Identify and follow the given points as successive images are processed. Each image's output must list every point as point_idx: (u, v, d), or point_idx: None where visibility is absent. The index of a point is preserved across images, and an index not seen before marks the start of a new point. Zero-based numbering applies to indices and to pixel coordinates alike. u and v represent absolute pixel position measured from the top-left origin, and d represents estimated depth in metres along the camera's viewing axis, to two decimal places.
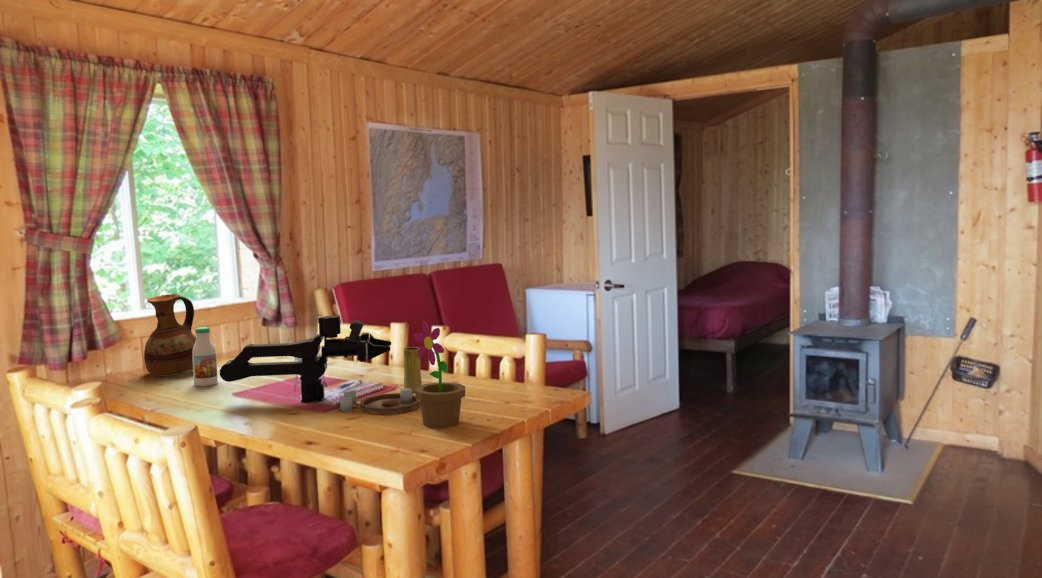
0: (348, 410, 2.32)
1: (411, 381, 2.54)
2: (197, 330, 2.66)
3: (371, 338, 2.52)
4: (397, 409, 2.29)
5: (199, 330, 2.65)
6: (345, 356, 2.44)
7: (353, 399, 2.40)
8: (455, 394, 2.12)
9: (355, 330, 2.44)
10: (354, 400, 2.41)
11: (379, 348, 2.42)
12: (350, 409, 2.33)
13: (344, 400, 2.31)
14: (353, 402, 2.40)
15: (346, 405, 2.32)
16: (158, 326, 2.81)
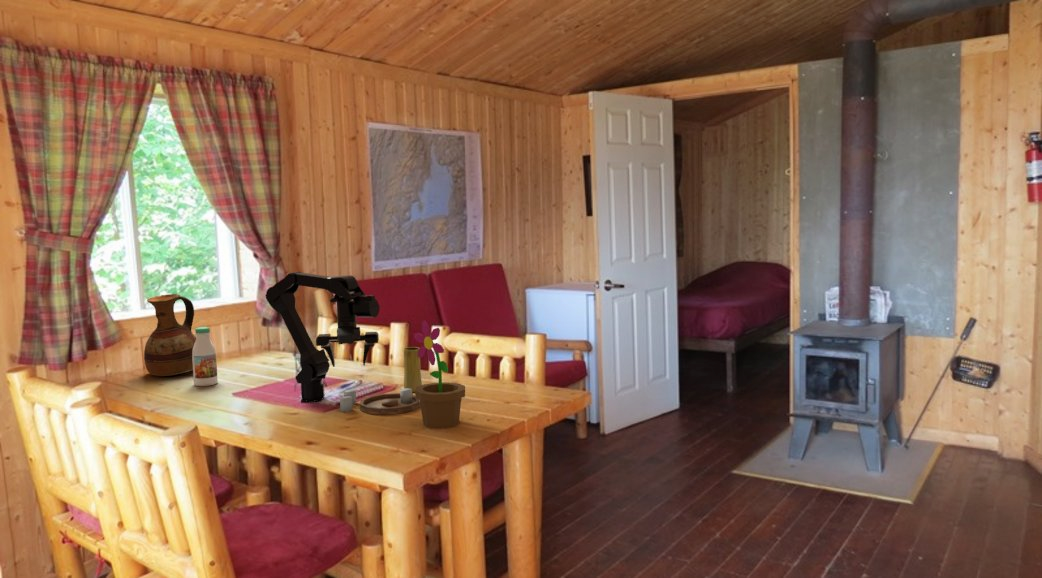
0: (348, 410, 2.32)
1: (411, 381, 2.54)
2: (197, 330, 2.66)
3: (364, 346, 2.38)
4: (397, 409, 2.29)
5: (199, 330, 2.65)
6: None
7: (353, 399, 2.40)
8: (455, 394, 2.12)
9: None
10: (354, 400, 2.41)
11: None
12: (350, 409, 2.33)
13: (344, 400, 2.31)
14: (353, 402, 2.40)
15: (346, 405, 2.32)
16: (158, 326, 2.81)
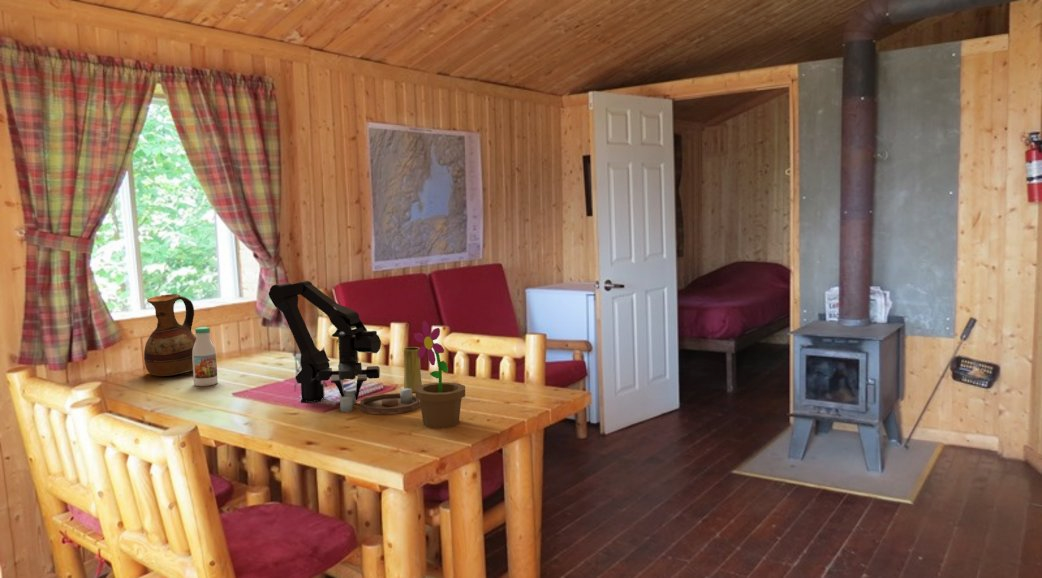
0: (348, 410, 2.32)
1: (411, 381, 2.54)
2: (197, 330, 2.66)
3: (357, 381, 2.39)
4: (397, 409, 2.29)
5: (199, 330, 2.65)
6: None
7: (353, 399, 2.40)
8: (455, 394, 2.12)
9: None
10: (354, 400, 2.41)
11: None
12: (350, 409, 2.33)
13: (344, 400, 2.31)
14: (353, 402, 2.40)
15: (346, 405, 2.32)
16: (158, 326, 2.81)
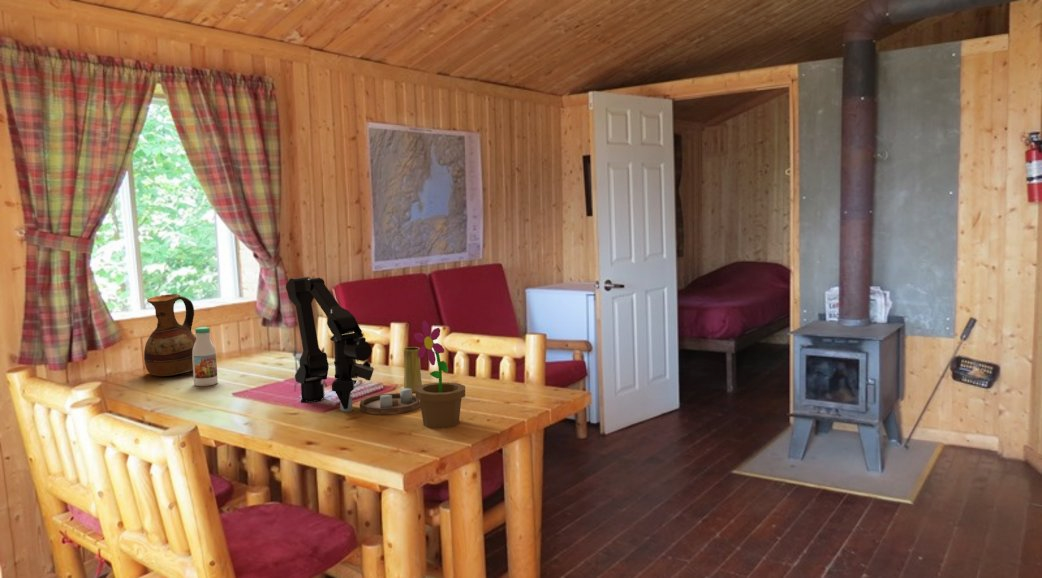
0: (348, 410, 2.32)
1: (411, 381, 2.54)
2: (197, 330, 2.66)
3: None
4: (397, 409, 2.29)
5: (199, 330, 2.65)
6: (335, 363, 2.29)
7: (390, 404, 2.31)
8: (455, 394, 2.12)
9: (363, 372, 2.31)
10: (391, 405, 2.31)
11: (346, 398, 2.30)
12: (350, 409, 2.33)
13: None
14: None
15: None
16: (158, 326, 2.81)
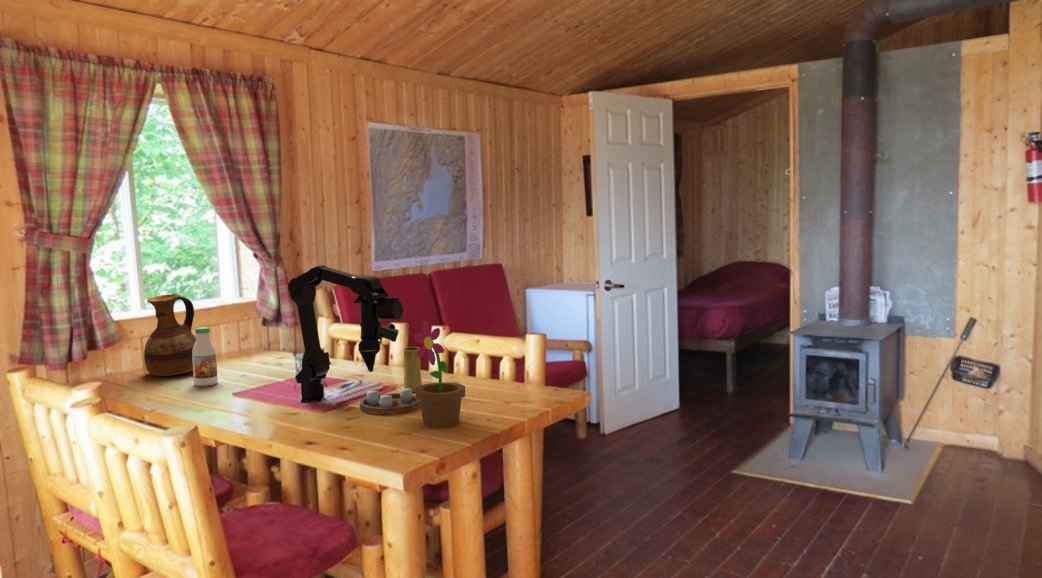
0: (375, 404, 2.36)
1: (411, 381, 2.54)
2: (197, 330, 2.66)
3: None
4: (397, 409, 2.29)
5: (199, 330, 2.65)
6: (361, 324, 2.32)
7: (390, 404, 2.31)
8: (455, 394, 2.12)
9: (389, 333, 2.33)
10: (391, 406, 2.31)
11: (371, 361, 2.30)
12: (377, 403, 2.36)
13: (371, 394, 2.35)
14: None
15: (372, 399, 2.35)
16: (158, 326, 2.81)
